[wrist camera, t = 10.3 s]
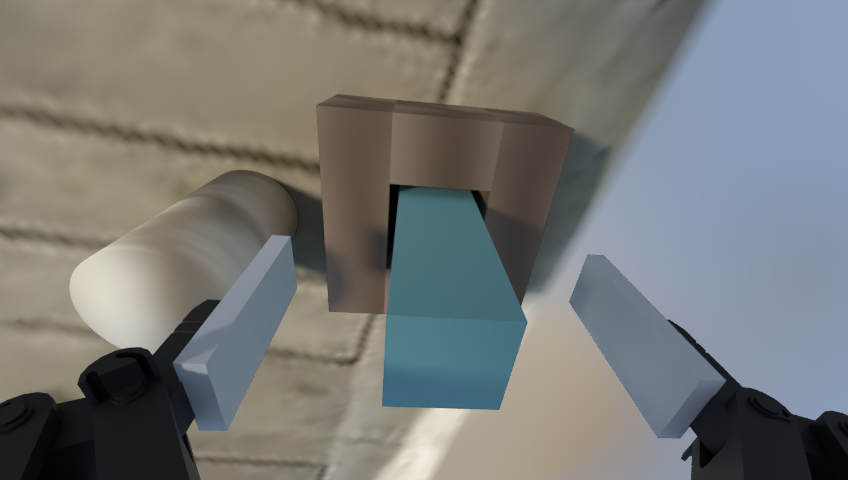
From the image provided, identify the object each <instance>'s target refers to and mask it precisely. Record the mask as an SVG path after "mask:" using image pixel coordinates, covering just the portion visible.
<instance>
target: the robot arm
mask: <svg viewBox="0 0 848 480" xmlns="http://www.w3.org/2000/svg"><path fill="white" fill-rule="evenodd" d="M296 289H297V285H296V277H295V268H294V260H293V251H292V243H291V236H280V235H272V236H271V237H270V238H269V240H268V241H267V242H266V243H265V245H264V246H263V247H262V249H261V250H260V251H259V253H258V254H257V255H256V256H255V258H254V259H253V260H252V262H251V263H250V264H249V265H248V267H247V268H246V269H245V271H244V272H243V273H242V274H241V276H240V277H239V278H238V280H237V281H236V282H235V283H234V285H233V286H232V287H231V289H230V290H229V291H228V292H227V294H226V295H225V296H224V298H223V299H222V300H211V299H207V300H206V301H204V302H202V303H201V304H199V305H198V306H196V307H195V308H193V309H192V310H191V311H190V312H189V314H188V315H187V316H186V317H185V318H184V319H183V320H182V323H180V324H179V325H178V326H177V327H176V329H175V330H174V332H173V333H171V334H170V335H169V337H168V338H167V339H166V340H165V341H164V342H163V344H162V345H161V346H160V347H159V348H158V349H157V351H156V352H155V353H154V354H153V355H152V354H151V353H150V351H149V350H148V349H144V348H141V347H130V348H125V349H121V350H117V351H114V352H112V353H109V354H107V355H105V356H103V357H101V358H99V359H98V360H96V361H95V362H94V363H92V364H91V365H89V366H88V367H87V368H86V369H85V371H84V372H83V373H82V374H81V375H80V378H79V381H78V386H79V387H80V389H81V390H82V392H83V394H84V395H85V397H86V398H82V399H77V400H73V401H68V402H63V403H59V404H56V402H55V401H54V399H53V398H52V397H51V396H50V395H49V394H47V393H40V392H35V393H29V394H23V395H20V396H18V397H15V398H12V399H9V400H6V401H5V402H3V403H1V404H0V480H200V476H199V473H198V469H197V466H196V462H195V459H194V456H193V452H192V449H191V445H190V442H189V439H188V436H187V434H186V431H187V430H188V428H189V426H190V425H191V423H192V421H193V420H194V418H195V421H196V423H197V426H198V428H199V430H218V431H227V430H228V428H229V426H230V424H231V422H232V420H233V418H234V416H235V414H236V412H237V410H238V408H239V406H240V404H241V402H242V400H243V398H244V395H245V393H246V391H247V389H248V387H249V385H250V383H251V381H252V379H253V377H254V375H255V373H256V371H257V369H258V367H259V365H260V363H261V361H262V359H263V357H264V355H265V353H266V351H267V348H268V346H269V344H270V342H271V340H272V338H273V336H274V334H275V332H276V330H277V328H278V326H279V324H280V322H281V320H282V318H283V316H284V314H285V312H286V310H287V308H288V306H289V304H290V301H291V299H292V297H293V295H294V293H295V291H296ZM570 304H571V305H572V307H573V309H574V310H575V312H576V313H577V315H578V316H579V318H580V319H581V321H582V322H583V324H584V325H585V327H586V328H587V330H588V332H589V333H590V335H591V336H592V338H593V339H594V341H595V342H596V344H597V345H598V347H599V349H600V350H601V352H602V353H603V355H604V356H605V358H606V359H607V361H608V362H609V364H610V365H611V367H612V369H613V370H614V371H615V373H616V375H617V376H618V378H619V379H620V381H621V382H622V384H623V385H624V387H625V389H626V390H627V391H628V393H629V395H630V396H631V398H632V399H633V401H634V402H635V404H636V405H637V407H638V408H639V410H640V411H641V413H642V415H643V416H644V418H645V419H646V421H647V422H648V424H649V425H650V427H651V428H652V430H653V431H654V433H655V434H656V436H657V438H681V437H682V435H683V434H684V433H685V432H686V430H687V429H688V428H689V427H691V428H692V430H693V431H694V432H695V434H696V435H697V436H698V437H697V438H696V439H695V440H694V441H693V443H692V444H691V445H690V446H689V447H688V449H687V450H686V451H685V452H684V453H683V455H682V457H681V459H682V460H684V461H686V459H687V458H688V457H689V456H692V464H691V465H692V471H691V480H848V415H845V414H843V413H839V412H835V411H826V412H824V413H823V414H822V415H821V416H820V417H818V418H817V419H816V420H811V419H808V418H804V417H800V416H797V415H794V414H791V413H790V412H789V411H788V410H787V409H786V407H784V406H783V405H782V404H780V403H779V402H778V401H777V400H775V399H774V398H772V397H770V396H768V395H767V394H765V393H763V392H760V391H758V390H755V389H752V388H745V387H742V386H741V385H740V384H739V383H738V382H737V381H736V380H735V379H734V378H733V377H732V376H731V375H730V374H729V373H728V372H727V371H726V370H725V369H724V368H723V367H722V366H721V365H720V364H719V363H718V362H717V361H716V360H715V359H714V358H712V357H711V356H710V354H708V353H706V352H705V350H704V348H703V347H702V346H700V345H699V344H698V343H696V341H695V340H694V339H693V338H692V337H691V336H690V335H689V334H688V333H687V332H686V331H685V330H684V329H683V328H681V327H680V326H678V325H677V324H675V323H674V322H672V321H670V320H666V319H665V318H664V316H663V315H662V314H660V312H659V311H658V310H657V309H656V308H655V307H654V306H653V305H652V304H651V303H650V302H649V301H648V300H647V299H646V298H645V297H644V296H643V295H642V294H641V293H640V292H639V291H638V290H637V289H636V288H635V287H634V286H633V285H632V284H631V283H630V282H629V281H628V280H627V279H626V278H625V277H624V276H623V275H622V274H621V273H620V271H619V270H617V268H616V267H614V265H613V264H612V263H611V262H610V261H609V260H608V259H607V258H606V257H605V256H604V255H587V258H586V260H585V263H584V265H583V268H582V270H581V273H580V276H579V278H578V281H577V283H576V286H575V288H574V291H573V294H572V296H571V299H570Z"/></svg>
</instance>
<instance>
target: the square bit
mask: <svg viewBox="0 0 848 480" xmlns="http://www.w3.org/2000/svg"><path fill="white" fill-rule="evenodd" d="M526 325H527V320H526V318H525V315H524V313H523V311H522V308H521V306H520V304H519V301H518V299H517V297H516V294H515V292H514V290H513V288H512V285H511V283H510V281H509V278H508V276H507V274H506V271H505V269H504V267H503V264H502V262H501V260H500V258H499V255H498V253H497V251H496V248H495V246H494V244H493V241H492V239H491V237H490V234H489V232H488V230H487V228H486V225H485V223H484V221H483V218H482V216H481V214H480V211H479V209H478V207H477V204H476V202H475V200H474V198H473V195H472V193H471V191H470V190H465V189H452V188H439V187H425V186H412V185H400V189H399V198H398V208H397V218H396V228H395V238H394V247H393V257H392V267H391V277H390V286H389V296H388V306H387V317H386V337H385V358H384V379H383V399H382V406H390V407H423V408H456V409H489V410H490V409H491V410H499V409H500V405H501V403H502V400H503V397H504V393H505V390H506V387H507V384H508V381H509V378H510V375H511V372H512V368H513V366H514V362H515V359H516V356H517V353H518V350H519V347H520V344H521V341H522V338H523V335H524V331H525V328H526Z"/></svg>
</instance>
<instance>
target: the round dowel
mask: <svg viewBox="0 0 848 480" xmlns="http://www.w3.org/2000/svg"><path fill="white" fill-rule="evenodd" d="M297 224H298V214H297V210H296V206H295V204H294V202H293V200H292V198H291V197H290V195H289V194H288V193H287V191H286V190H285V189H284V188H283V187H282V186H281V185H280V184H278V183H277V182H276V181H274V180H273V179H271V178H269V177H267V176H265V175H263V174H260V173H258V172H254V171H248V170H235V171H230V172H227V173H224V174H222V175H220V176H219V177H217V178H216V179H214V180H212V181H211V182H209V183H208V184H206V185H204V186H203V187H201V188H200V189H198V190H196V191H195V192H193V193H192V194H190V195H188V196H187V197H185V198H184V199H182V200H180V201H179V202H177V203H176V204H174V205H172V206H171V207H169V208H167V209H166V210H164V211H163V212H161V213H159V214H158V215H156V216H155V217H153V218H151V219H150V220H148V221H147V222H145V223H143V224H142V225H140V226H139V227H137V228H135V229H134V230H132V231H131V232H129V233H127V234H126V235H124V236H123V237H121V238H119V239H118V240H116V241H115V242H113V243H111V244H110V245H108V246H107V247H105V248H103V249H102V250H100V251H98V252H97V253H95V254H94V255H92V256H90V257H89V258H87V259H86V260H84V261H83V262H81V263H80V264H79V265H78V266H77V267H76V269H75V270H74V272H73V274H72V277H71V279H70V295H71V299H72V302H73V304H74V306H75V309H76V310H77V312H78V313H79V315H80V316H81V318H82V319H83V320H84V321H85V323H86V324H87V325H88V326H89V327H90V328H91V329H92V330H94V331H95V332H96V333H97V334H98V335H100V336H101V337H103V338H104V339H105V340H107V341H108V342H110V343H112V344H114V345H115V346H117V347H119V348H121V349H125V348H130V347H141V348H144V349H148V350H149V351H150V353H151V354H152V355H153V354H154V353H155V352H156V351H157V349H158V348H159V347H160V346H161V345H162V344H163V342H164V341H165V340H166V339H167V338H168V337H169V335H170V334H171V333H173V332H174V330H175V329H176V327H177V326H178V325H179V324H180V323H182V320H183V319H184V318H185V317H186V316H187V315H188V314H189V312H190V311H191V310H192V309H193V308H195V307H196V306H198V305H199V304H201V303H202V302H204V301H206V300H207V299H211V300H222V299H223V298H224V296H225V295H226V294H227V292H228V291H229V290H230V289H231V287H232V286H233V285H234V283H235V282H236V281H237V280H238V278H239V277H240V276H241V274H242V273H243V272H244V271H245V269H246V268H247V267H248V265H249V264H250V263H251V262H252V260H253V259H254V258H255V256H256V255H257V254H258V253H259V251H260V250H261V249H262V247H263V246H264V245H265V243H266V242H267V241H268V240H269V238H270V237H271V236H272V235H280V236H291V238H292V237H293V235H294V234H295V231H296V229H297Z"/></svg>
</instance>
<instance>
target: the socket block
mask: <svg viewBox="0 0 848 480" xmlns="http://www.w3.org/2000/svg"><path fill="white" fill-rule="evenodd" d="M316 108H317V124H318V140H319V156H320V173H321V189H322V205H323V222H324V238H325V254H326V270H327V287H328V303H329V312H349V313H372V314H387V306H388V296H389V286H390V277H391V267H392V257H393V247H394V238H395V230H390V227H391V206H392V185H393V184H399V185H412V186H425V187H439V188H452V189H465V190H470V191H471V193H472V195H473V198H474V200H475V202H476V204H477V207H478V209H479V211H480V214H481V216H482V218H483V221H484V223H485V225H486V228H487V230H488V232H489V234H490V237H491V239H492V241H493V244H494V246H495V248H496V251H497V253H498V255H499V258H500V260H501V262H502V264H503V267H504V269H505V271H506V274H507V276H508V278H509V281H510V283H511V285H512V288H513V290H514V292H515V294H516V297H517V299H518V301H519V304H520V306H521V304H522V301H523V298H524V294H525V291H526V288H527V284H528V281H529V278H530V274H531V271H532V268H533V264H534V261H535V258H536V255H537V251H538V248H539V245H540V241H541V238H542V235H543V231H544V228H545V225H546V221H547V218H548V215H549V211H550V208H551V205H552V201H553V198H554V195H555V191H556V188H557V185H558V181H559V178H560V175H561V171H562V168H563V165H564V162H565V158H566V155H567V152H568V148H569V145H570V142H571V138H572V135H573V132H574V129H573V128H571V127H568V126H566V125H564V124H561V123H559V122H557V121H555V120H552V119H550V118H548V117H545V116H543V115H541V114H539V113H529V112H518V111H508V110H497V109H487V108H476V107H465V106H455V105H444V104H434V103H423V102H413V101H402V100H392V99H381V98H370V97H360V96H349V95H339V94H338V95H336V96H334V97H332V98H330V99H328V100H326V101H324V102H322V103H320V104H318V105H316Z"/></svg>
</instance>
